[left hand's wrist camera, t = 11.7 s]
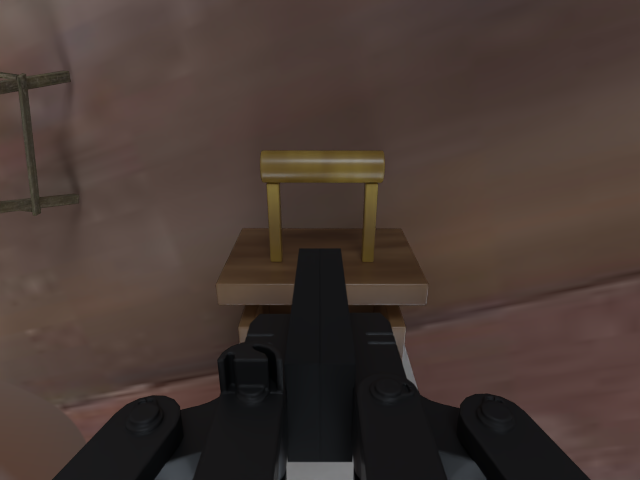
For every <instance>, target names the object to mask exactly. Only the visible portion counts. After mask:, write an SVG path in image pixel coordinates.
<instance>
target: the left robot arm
mask: <svg viewBox="0 0 640 480" xmlns="http://www.w3.org/2000/svg"><path fill="white" fill-rule="evenodd" d="M217 361H218V370H219V380H220V390H221V394H220V397H218V398H217V399H215V400H213V401H211V402H208V403H205V404H202V405H199V406H195V407H191V408H187V409H182V410H180V406H179V405H178V403H177V402H176V401H175V400H174V399H172V398H169V397H167V396H155V395H152V396H148V397H144V398H139V399H137V400H135V401H133V402H131V403H129V404H127V405H125V406H124V407H123V408H122V409H120V410H119V411H118V412H117V413H115V414H114V416H113V417H112V418H111V419H110V420H109V421H108V422H107V423H106V424H105V425H104V426H103V427H102V428H101V429H100V430H99V431H98V432H97V433H96V434H95V435H94V436H93V437H92V439H91V440H90V441H89V442H88V443H87V444H86V445H85V446H84V447H83V448H82V449H81V450H80V451H79V452H78V453H77V454H76V455H75V456H74V457H73V458H72V459H71V460H70V462H69V463H68V464H67V465H66V466H65V467H64V468H63V469H62V470H61V471H60V472H59V473H58V474H57V475H56V476H55V477H54V478H53V479H52V480H287V470H286V466H287V460H288V462H352V460H353V464H354V470H353V480H590V479H589V478H588V477H587V476H586V475H585V474H584V473H583V471H582V470H581V469H580V468H579V467H578V466H577V465H576V464H575V463H574V462H573V461H572V460H571V459H570V458H569V457H568V456H567V455H566V454H565V453H564V452H563V451H562V450H561V449H560V448H559V447H558V446H557V444H556V443H555V442H554V441H553V440H552V439H551V438H550V437H549V436H548V435H547V434H546V433H545V432H544V431H543V430H542V429H541V428H540V427H539V426H538V425H537V424H536V423H535V422H534V421H533V420H532V419H531V417H530V416H529V415H528V414H527V413H526V412H525V411H524V410H522V409H521V408H520V407H518V406H517V405H516V404H515V403H513V402H511V401H509V400H507V399H505V398H503V397H500V396H495V395H491V394H474V395H472V396H469V397H467V398H465V400H464V401H463V402H462V403H461V404H460V408H456V407H452V406H448V405H444V404H440V403H437V402H434V401H431V400H429V399H427V398H425V397H423V396H421V395H420V393H419V391H418V389H417V388H416V386H415V385H414V384H413V383H412V382H411V381H410V380H408V379H407V377H406V374H405V370H404V367H403V364H402V360H401V357H400V354H399V351H398V347H397V344H396V341H395V337H394V335H393V331H392V327H391V324H390V322H389V321H388V320H387V319H386V318H385V317H384V316H383V315H382V314H381V313H349V306H348V299H347V291H346V284H345V276H344V268H343V261H342V253H341V248H299V253H298V261H297V268H296V276H295V284H294V291H293V299H292V306H291V314H259V315H258V316H257V317H256V318H255V319H254V320H253V321H252V322H251V323H250V326H249V329H248V332H247V337H246V339H245V342H243V343H240V344H237V345H234V346H231V347H230V348H228V349H227V350H225V351H224V352H223V353H222V354H221V355H220V357H219V358H218V360H217Z"/></svg>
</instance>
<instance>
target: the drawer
mask: <svg viewBox="0 0 640 480" xmlns="http://www.w3.org/2000/svg"><path fill="white" fill-rule="evenodd" d="M384 172H385V157H384V152H383V151H288V150H263V151H261V155H260V174H261V180H262V182H264V183H267V202H268V221H269V228H243V229H242V230H241V233H240V235H239V237H238V239H237V241H236V243H235V245H234V247H233V249H232V251H231V254H230V256H229V258H228V260H227V262H226V264H225V266H224V268H223V270H222V272H221V275H220V277H219V279H218V281H217V283H216V292H217V301H218V305H245V307H244V310H243V313H242V317H241V320H240V323H239V326H238V332H239V343H243V342H245V339H246V337H247V332H248V329H249V326H250V323H251V322H252V321H253V320H254V319H255V318H256V317H257V316H258V315H259V314H291V306H292V299H293V291H294V284H295V276H296V268H297V261H298V253H299V248H341V253H342V261H343V268H344V276H345V284H346V291H347V299H348V306H349V313H381V314H382V315H383V316H384V317H385V318H386V319H387V320H388V321H389V322H390V324H391V327H392V331H393V335H394V337H395V341H396V344H397V347H398V351H399V354H400V357H401V360H402V363H403V353H404V343H405V334H406V326H405V323H404V320H403V317H402V314H401V311H400V307H399V305H426V304H427V296H428V288H429V284H428V282H427V280H426V278H425V276H424V274H423V272H422V270H421V268H420V266H419V264H418V262H417V260H416V258H415V256H414V254H413V252H412V250H411V248H410V246H409V244H408V242H407V240H406V237H405V235H404V233H403V231H402V229H375V228H376V211H377V194H378V183H381V182H382V181H383V179H384ZM280 183H365V186H364V208H363V229H296V228H282V225H281V199H280Z"/></svg>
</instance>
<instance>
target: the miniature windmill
mask: <svg viewBox="0 0 640 480" xmlns="http://www.w3.org/2000/svg"><path fill="white" fill-rule="evenodd" d="M0 78H5V79H8V80H2V81H0V94H4V93H10V92H15V91H19V100H20V109H21V117H22V126H23V135H24V143H25V152H26V160H27V169H28V178H29V186H30V195H31V198H28V199H18V200H8V201H0V213H4V212H12V211H28V212H33V215H34V216H36V215H38V214H40V213H41V209H40V208H45V207H53V206H61V205H70V204H78V203H79V195H77V194H68V195H58V196H48V197H39V190H38V181H37V172H36V163H35V153H34V144H33V135H32V126H31V116H30V107H29V98H28V89H32V88H38V87H44V86H49V85H55V84H60V83H66V82H71V80H70V75H69V71H59V72H52V73H46V74H40V75H33V76H27V77H26V74H24V73H22V74H21V75H17V74H10V73H2V72H0Z"/></svg>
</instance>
